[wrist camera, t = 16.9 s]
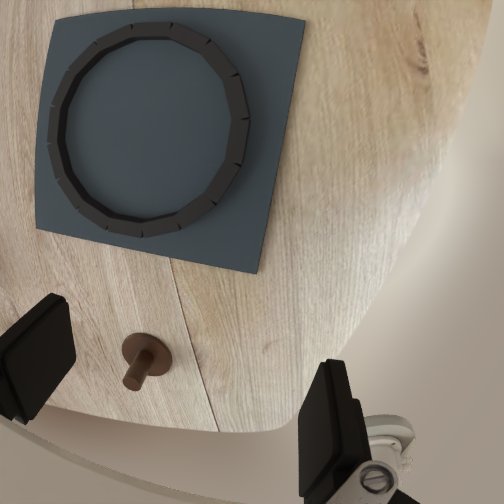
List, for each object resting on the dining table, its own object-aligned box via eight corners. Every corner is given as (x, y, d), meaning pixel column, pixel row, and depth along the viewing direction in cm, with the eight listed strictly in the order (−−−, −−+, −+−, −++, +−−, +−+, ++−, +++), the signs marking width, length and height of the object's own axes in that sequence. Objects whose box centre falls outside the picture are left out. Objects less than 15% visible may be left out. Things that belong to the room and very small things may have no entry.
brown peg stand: (172, 340, 38) (158, 372, 33) (171, 378, 41) (159, 409, 35) (121, 327, 38) (102, 355, 33) (125, 365, 41) (108, 394, 35)
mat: (305, 22, 24) (305, 20, 24) (256, 272, 34) (256, 274, 33) (58, 20, 24) (55, 19, 24) (38, 227, 34) (35, 228, 33)
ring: (267, 33, 24) (267, 28, 23) (229, 249, 33) (226, 255, 31) (71, 33, 24) (63, 30, 23) (53, 215, 33) (45, 219, 31)
